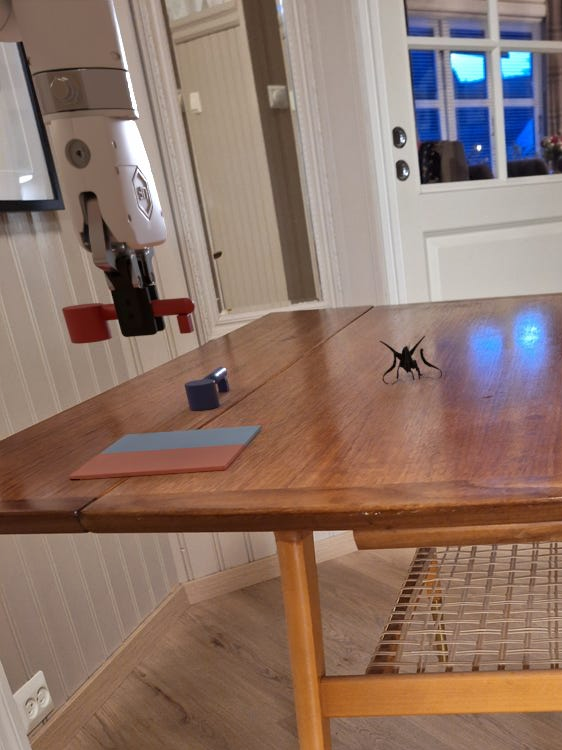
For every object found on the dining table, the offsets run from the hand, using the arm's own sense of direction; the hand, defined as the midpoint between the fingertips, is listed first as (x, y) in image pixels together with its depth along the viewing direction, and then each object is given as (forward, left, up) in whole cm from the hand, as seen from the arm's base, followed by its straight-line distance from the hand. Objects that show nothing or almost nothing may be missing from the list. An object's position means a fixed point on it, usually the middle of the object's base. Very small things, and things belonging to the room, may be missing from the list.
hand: (144, 332), depth 80 cm
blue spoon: (-4, +27, -12) cm, 30 cm away
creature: (+21, +31, -12) cm, 40 cm away
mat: (-1, +3, -12) cm, 12 cm away
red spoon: (-1, 0, 0) cm, 1 cm away
